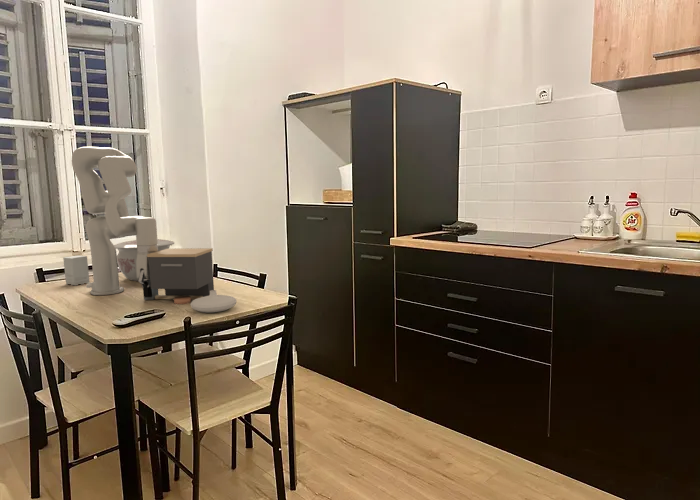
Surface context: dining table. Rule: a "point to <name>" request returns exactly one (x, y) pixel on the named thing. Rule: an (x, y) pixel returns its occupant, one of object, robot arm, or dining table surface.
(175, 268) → the cabinet
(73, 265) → the supplement box
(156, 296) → the grey block with handle
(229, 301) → the grey domed lid
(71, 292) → the dining table surface
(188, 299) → the coaster
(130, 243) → the chamber pot
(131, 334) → the dining table surface
